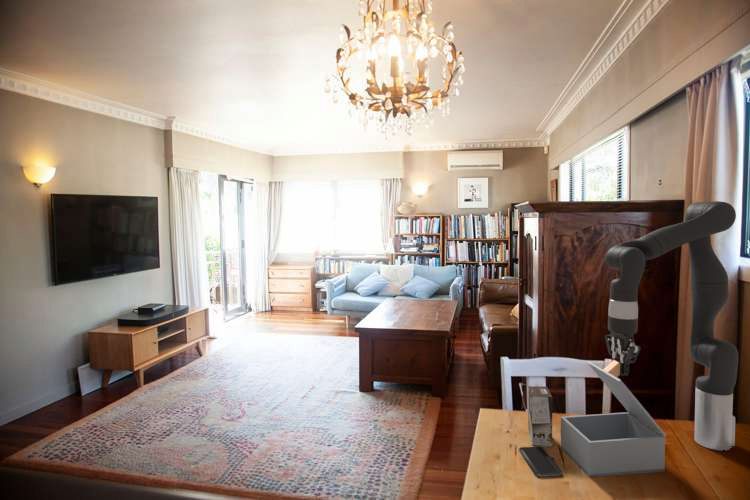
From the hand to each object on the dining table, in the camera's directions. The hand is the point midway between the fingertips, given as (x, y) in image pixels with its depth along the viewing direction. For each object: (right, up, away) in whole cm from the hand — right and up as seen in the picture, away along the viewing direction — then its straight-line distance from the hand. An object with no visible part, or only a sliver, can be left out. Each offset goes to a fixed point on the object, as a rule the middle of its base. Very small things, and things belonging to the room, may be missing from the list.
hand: (620, 373), depth 130 cm
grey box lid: (+1, -7, +1) cm, 8 cm away
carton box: (-2, -26, +2) cm, 26 cm away
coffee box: (-18, -26, +15) cm, 35 cm away
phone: (-23, -27, +1) cm, 36 cm away
